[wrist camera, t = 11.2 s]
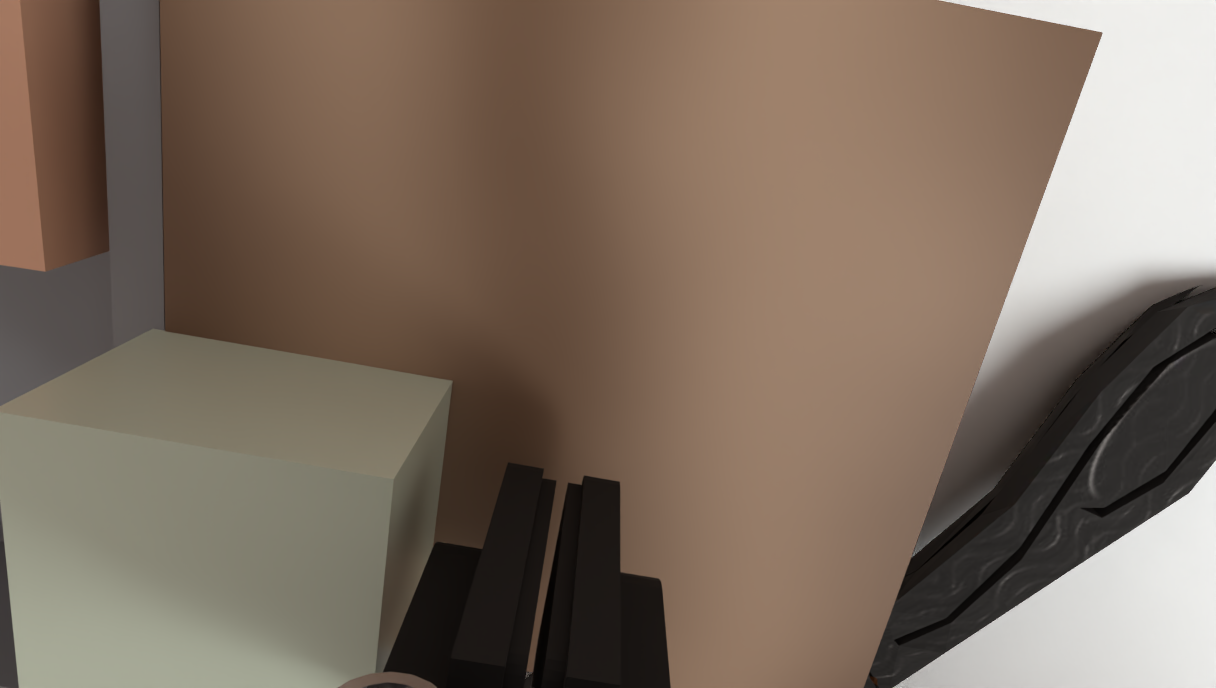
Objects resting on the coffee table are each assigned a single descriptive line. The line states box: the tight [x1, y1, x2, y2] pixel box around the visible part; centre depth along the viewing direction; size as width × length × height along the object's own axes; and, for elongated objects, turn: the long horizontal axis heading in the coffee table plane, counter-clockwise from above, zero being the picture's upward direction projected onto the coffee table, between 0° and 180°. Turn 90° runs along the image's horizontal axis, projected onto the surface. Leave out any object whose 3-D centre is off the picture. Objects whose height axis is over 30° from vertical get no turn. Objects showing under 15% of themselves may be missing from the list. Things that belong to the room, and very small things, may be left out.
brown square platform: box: [160, 0, 1102, 688], centre depth 14 cm, size 12×12×5 cm
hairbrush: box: [523, 286, 1216, 688], centre depth 18 cm, size 8×4×25 cm
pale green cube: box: [0, 329, 453, 688], centre depth 11 cm, size 4×4×3 cm
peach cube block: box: [0, 0, 110, 272], centre depth 12 cm, size 4×4×3 cm
